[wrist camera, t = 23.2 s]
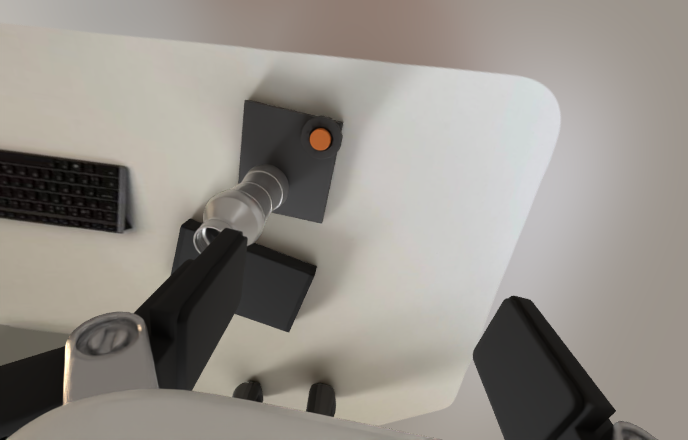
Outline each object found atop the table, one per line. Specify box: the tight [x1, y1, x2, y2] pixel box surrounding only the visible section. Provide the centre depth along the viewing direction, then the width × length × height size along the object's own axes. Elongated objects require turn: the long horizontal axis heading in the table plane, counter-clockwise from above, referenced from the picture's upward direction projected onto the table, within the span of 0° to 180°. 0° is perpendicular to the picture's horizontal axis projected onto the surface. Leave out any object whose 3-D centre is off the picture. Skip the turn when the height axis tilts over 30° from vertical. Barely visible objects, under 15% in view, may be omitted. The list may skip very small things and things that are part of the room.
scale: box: [238, 100, 343, 223], centre depth 45 cm, size 16×14×3 cm
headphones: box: [232, 382, 336, 417], centre depth 58 cm, size 22×6×20 cm, turn 92°
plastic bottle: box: [193, 165, 289, 254], centre depth 37 cm, size 6×7×20 cm
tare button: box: [310, 128, 331, 150], centre depth 41 cm, size 3×3×2 cm
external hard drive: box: [171, 219, 317, 332], centre depth 54 cm, size 14×23×3 cm, turn 67°
